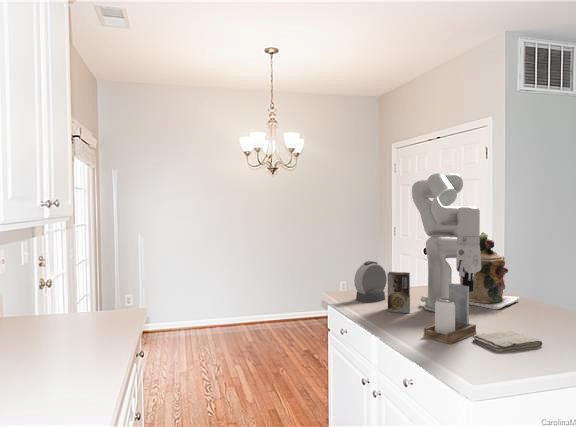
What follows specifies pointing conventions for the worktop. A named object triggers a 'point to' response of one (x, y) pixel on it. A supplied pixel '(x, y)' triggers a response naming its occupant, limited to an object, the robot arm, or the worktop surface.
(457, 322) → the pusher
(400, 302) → the coffee box
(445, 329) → the can
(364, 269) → the alarm clock
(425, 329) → the wooden tray
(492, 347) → the washcloth
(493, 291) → the cookie jar
